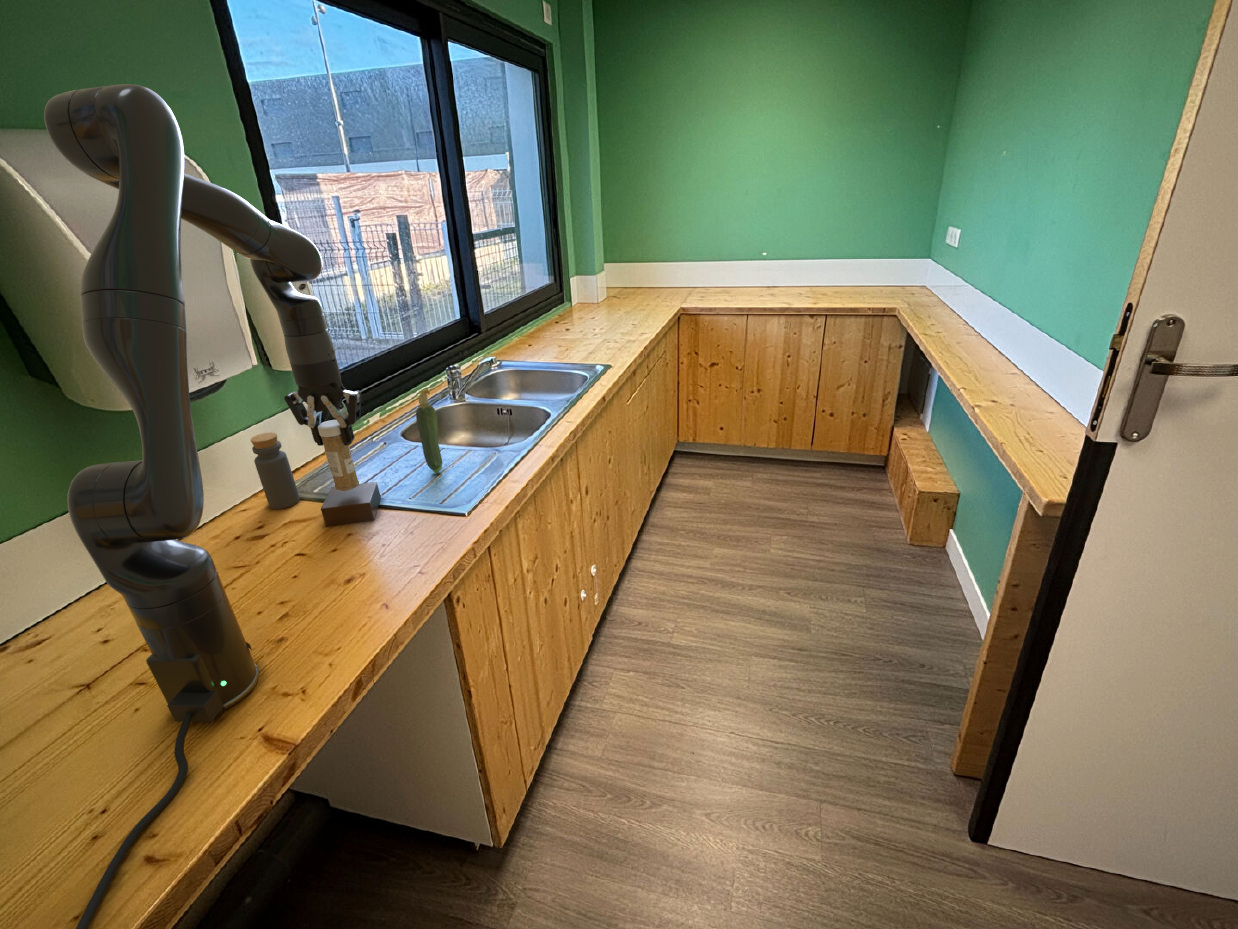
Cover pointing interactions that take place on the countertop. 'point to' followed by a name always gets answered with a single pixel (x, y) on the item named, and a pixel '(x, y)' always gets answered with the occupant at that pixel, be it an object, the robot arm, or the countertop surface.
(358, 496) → the block
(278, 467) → the bottle
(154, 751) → the countertop surface
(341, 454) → the sprinkles bottle
